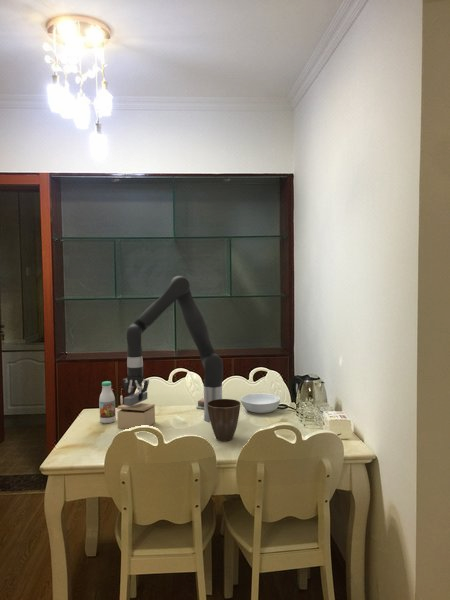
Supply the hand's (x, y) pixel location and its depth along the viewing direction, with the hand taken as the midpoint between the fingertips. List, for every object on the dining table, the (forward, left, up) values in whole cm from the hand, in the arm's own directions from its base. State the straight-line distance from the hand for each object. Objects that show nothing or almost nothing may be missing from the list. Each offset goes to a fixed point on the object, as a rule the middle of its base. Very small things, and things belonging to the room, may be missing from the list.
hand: (136, 400), depth 236 cm
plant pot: (-47, +8, -13) cm, 49 cm away
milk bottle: (+17, -2, -13) cm, 21 cm away
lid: (0, 0, -4) cm, 4 cm away
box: (0, 0, -12) cm, 12 cm away
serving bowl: (-54, -37, -13) cm, 67 cm away
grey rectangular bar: (0, 0, -1) cm, 1 cm away
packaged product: (-29, -36, -13) cm, 48 cm away
